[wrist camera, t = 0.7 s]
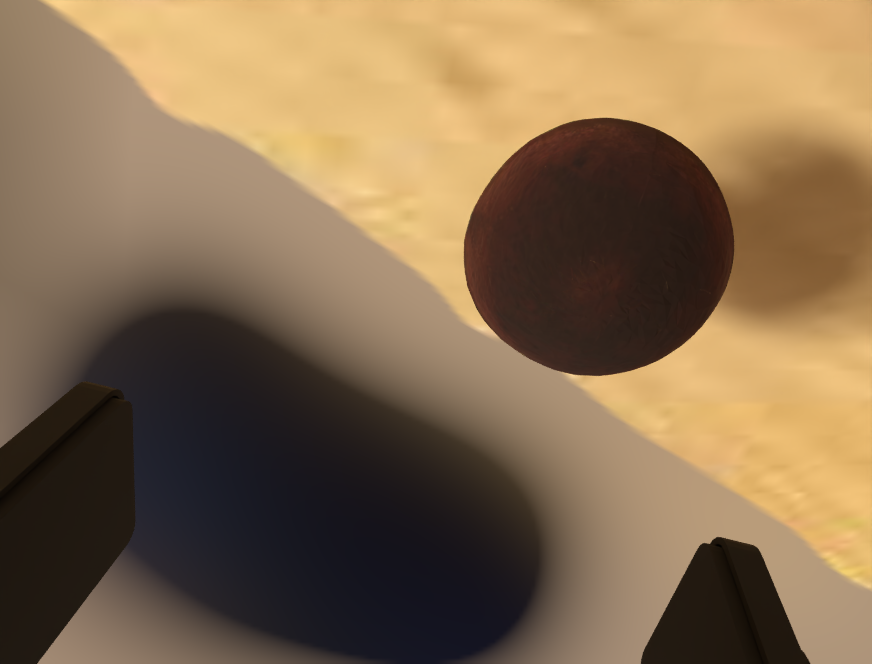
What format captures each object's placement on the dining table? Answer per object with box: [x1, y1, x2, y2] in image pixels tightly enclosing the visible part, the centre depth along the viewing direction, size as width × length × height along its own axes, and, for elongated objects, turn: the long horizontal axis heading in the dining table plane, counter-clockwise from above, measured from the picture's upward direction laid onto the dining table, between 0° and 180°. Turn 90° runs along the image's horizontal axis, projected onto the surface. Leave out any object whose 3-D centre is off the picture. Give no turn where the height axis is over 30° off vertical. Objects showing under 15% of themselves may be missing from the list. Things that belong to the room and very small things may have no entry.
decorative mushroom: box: [464, 118, 734, 376], centre depth 30 cm, size 11×11×15 cm
